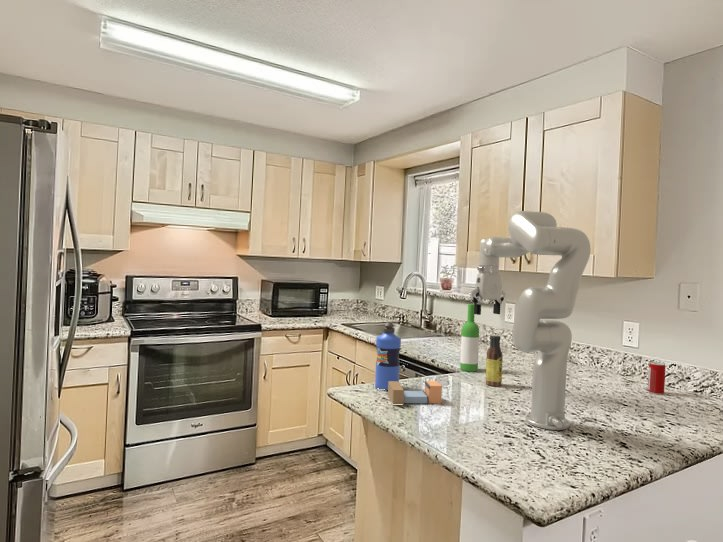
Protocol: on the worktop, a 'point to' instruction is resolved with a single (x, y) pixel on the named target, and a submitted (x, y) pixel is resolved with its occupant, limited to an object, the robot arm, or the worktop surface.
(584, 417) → the worktop surface
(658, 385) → the soda can
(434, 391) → the stub
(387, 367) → the water bottle
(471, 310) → the wine bottle
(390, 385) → the tan blue stepped block
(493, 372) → the sauce bottle
